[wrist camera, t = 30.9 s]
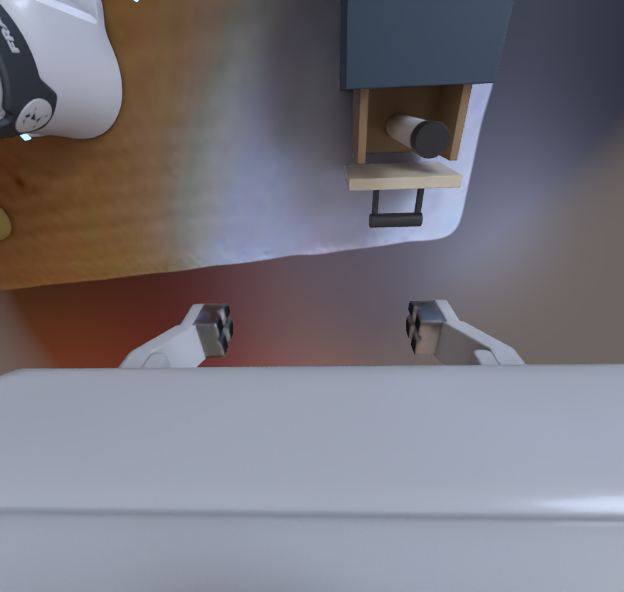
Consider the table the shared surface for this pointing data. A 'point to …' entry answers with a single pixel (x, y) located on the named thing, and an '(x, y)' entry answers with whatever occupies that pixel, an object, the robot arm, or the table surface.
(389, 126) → the marker
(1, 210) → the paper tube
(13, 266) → the table surface
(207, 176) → the table surface
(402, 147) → the drawer
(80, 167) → the table surface
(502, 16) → the cabinet
